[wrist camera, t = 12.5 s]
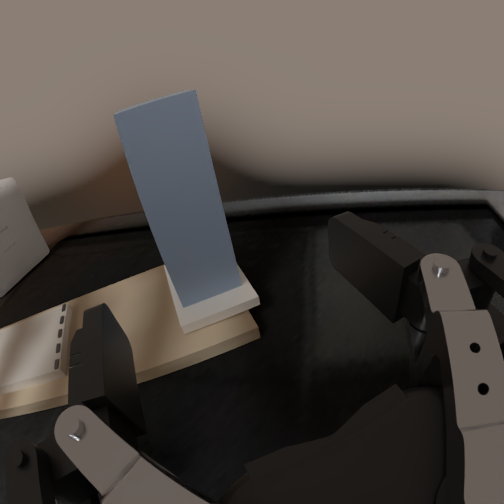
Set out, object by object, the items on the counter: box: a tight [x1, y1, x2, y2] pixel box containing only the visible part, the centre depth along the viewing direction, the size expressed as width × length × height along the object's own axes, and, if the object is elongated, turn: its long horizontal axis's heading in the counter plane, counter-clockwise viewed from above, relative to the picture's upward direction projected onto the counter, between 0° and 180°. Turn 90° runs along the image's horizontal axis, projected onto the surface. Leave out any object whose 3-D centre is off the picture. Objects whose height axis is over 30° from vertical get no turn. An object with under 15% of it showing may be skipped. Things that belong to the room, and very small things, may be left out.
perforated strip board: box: [0, 264, 261, 419], centre depth 18 cm, size 26×10×2 cm, turn 112°
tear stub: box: [114, 90, 260, 334], centre depth 17 cm, size 5×7×13 cm
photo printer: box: [0, 177, 49, 297], centre depth 27 cm, size 10×4×12 cm, turn 155°
